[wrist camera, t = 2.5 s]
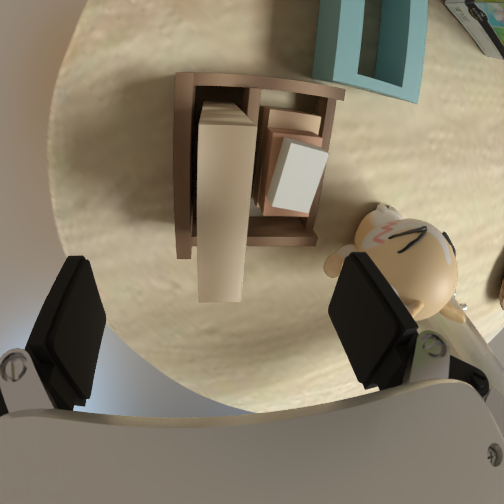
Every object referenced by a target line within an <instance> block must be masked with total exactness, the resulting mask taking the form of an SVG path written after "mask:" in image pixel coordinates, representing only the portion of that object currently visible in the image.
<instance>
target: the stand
mask: <svg viewBox="0 0 504 504" xmlns="http://www.w3.org/2000/svg"><path fill="white" fill-rule="evenodd" d="M364 6H365V0H320V4H319V15H318V25H317V34H316V44H315V53H314V61H313V70H312V78H311V79H316V80H322V81H327V82H332V83H337V84H341V85H346V86H350V87H354V88H358V89H362V90H366V91H370V92H374V93H377V94H381V95H384V96H388V97H392V98H396V99H400V100H404V101H408V102H412V103H415V104H418V98H419V92H420V85H421V78H422V71H423V63H424V54H425V44H426V31H427V13H428V0H382V7H381V21H380V32H379V42H378V52H377V60H376V68H375V75H374V79H373V78H370V77H366V76H363V75H359V74H357V73H358V65H359V57H360V48H361V39H362V29H363V18H364Z"/></svg>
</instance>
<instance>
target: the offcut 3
mask: <svg viewBox="0 0 504 504" xmlns="http://www.w3.org/2000/svg"><path fill="white" fill-rule="evenodd" d="M328 156H329V153H328V152H327V151H325V150H324V149H322V148H321V147H319V146H316V145H312V144H309V143H305V142H301V141H297V140H294V139H290V138H286V137H284V139H283V143H282V146H281V150H280V153H279V156H278V160H277V163H276V167H275V170H274V174H273V177H272V180H271V184H270V187H269V191H268V194H267V197H268V199H269V201H270V203H271V205H272V207H278V208H283V209H289V210H294V211H299V212H304V213H309V210H310V207H311V204H312V202H313V199H314V196H315V193H316V190H317V188H318V185H319V182H320V179H321V176H322V173H323V170H324V167H325V165H326V162H327V159H328Z"/></svg>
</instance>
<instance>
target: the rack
mask: <svg viewBox="0 0 504 504" xmlns="http://www.w3.org/2000/svg"><path fill="white" fill-rule="evenodd" d="M196 86H232V87H242V97H241V108H240V110H241V111H243V112H244V114H245V115H246V116H247V117H248V118H249V119H250V120H251V121H252V122H253V123H254V124H255V125H256V126H257V125H258V115H259V105H260V95H261V89H271V90H280V91H288V92H296V93H303V94H309V95H315V96H318V100H317V107H316V115H318V116H321V123H320V128H319V134H318V135H319V136H320V137H322V138H323V140H322V146H321V148H322V149H324V150H325V151H327V152H328V150H329V144H330V138H331V132H332V126H333V120H334V113H335V107H336V100H337V99H338V100H343V101H344V97H345V90H346V89H341V88H336V87H331V86H326V85H321V84H315V83H310V82H303V81H297V80H290V79H282V78H274V77H265V76H254V75H241V74H222V73H194V72H179V73H176V75H175V95H174V128H173V179H174V214H175V235H176V252H177V259H191V249H192V246H197V216H193V150H194V120H195V99H196ZM325 167H326V165H325ZM325 167H324V170H323V173H322V176H321V179H320V182H319V185H318V188H317V190H316V193H315V196H314V199H313V202H312V204H311V207H310V212H309V217H299V218H290V217H249V220H248V231H247V242H246V246H316V243H317V238H318V237H317V235H316V234H315V232H314V230H313V227H314V222H315V218H316V213H317V208H318V203H319V198H320V193H321V188H322V183H323V177H324V172H325Z"/></svg>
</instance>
